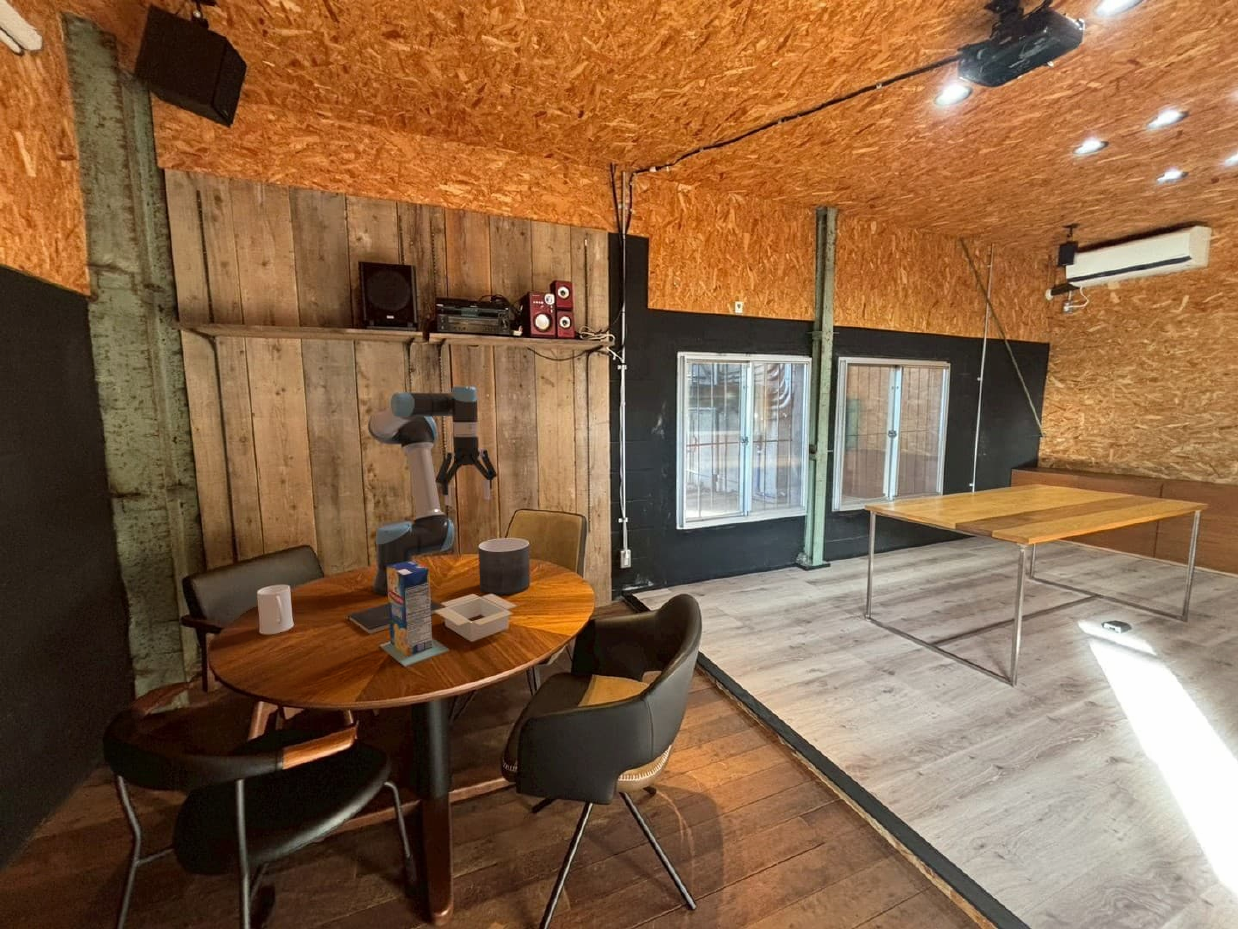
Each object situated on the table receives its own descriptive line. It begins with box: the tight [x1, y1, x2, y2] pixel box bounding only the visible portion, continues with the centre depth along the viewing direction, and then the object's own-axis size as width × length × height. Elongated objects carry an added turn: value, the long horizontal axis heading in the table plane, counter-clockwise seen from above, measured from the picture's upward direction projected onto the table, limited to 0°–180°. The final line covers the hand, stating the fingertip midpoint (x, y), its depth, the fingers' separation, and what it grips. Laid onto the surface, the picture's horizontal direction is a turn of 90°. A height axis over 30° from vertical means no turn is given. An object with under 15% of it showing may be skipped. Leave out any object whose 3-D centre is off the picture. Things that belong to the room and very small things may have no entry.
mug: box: [256, 584, 295, 635], centre depth 150 cm, size 12×8×12 cm
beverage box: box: [387, 560, 433, 656], centre depth 139 cm, size 7×11×22 cm, turn 46°
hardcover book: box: [347, 599, 444, 635], centre depth 162 cm, size 16×23×2 cm
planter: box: [478, 537, 531, 596], centre depth 186 cm, size 18×18×16 cm
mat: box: [379, 637, 450, 668], centre depth 140 cm, size 16×12×1 cm
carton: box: [434, 593, 518, 643], centre depth 153 cm, size 22×19×6 cm
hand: (468, 502), depth 164 cm, fingers open, 13 cm apart
